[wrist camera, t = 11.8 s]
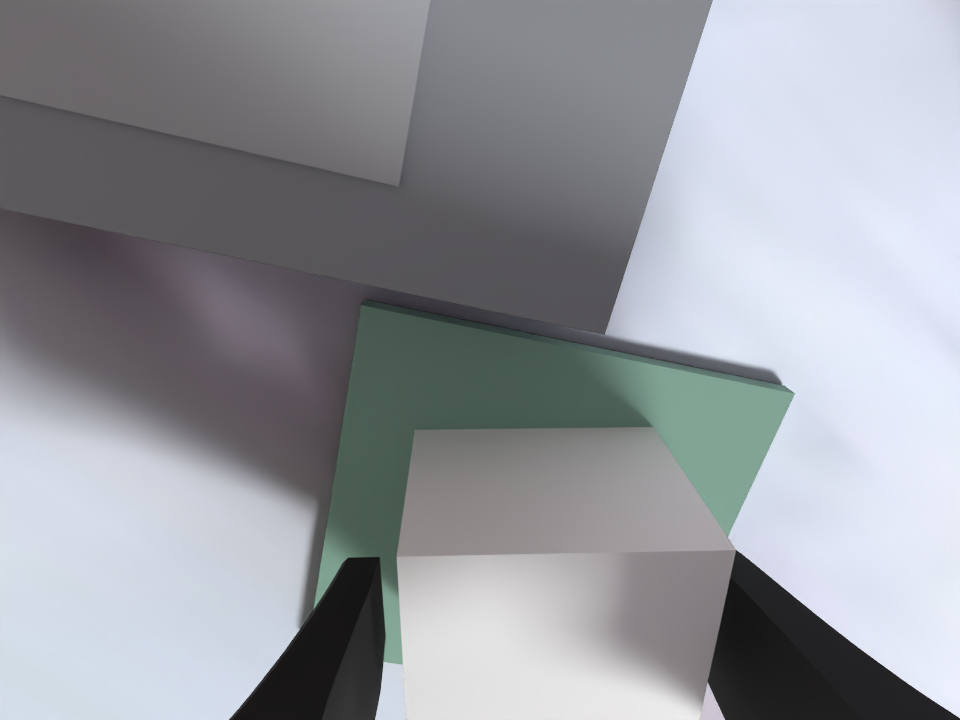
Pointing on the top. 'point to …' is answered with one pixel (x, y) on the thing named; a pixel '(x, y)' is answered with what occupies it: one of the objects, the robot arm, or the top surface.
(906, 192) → the top surface
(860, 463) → the top surface
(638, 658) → the white square block
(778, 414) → the mat
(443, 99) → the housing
